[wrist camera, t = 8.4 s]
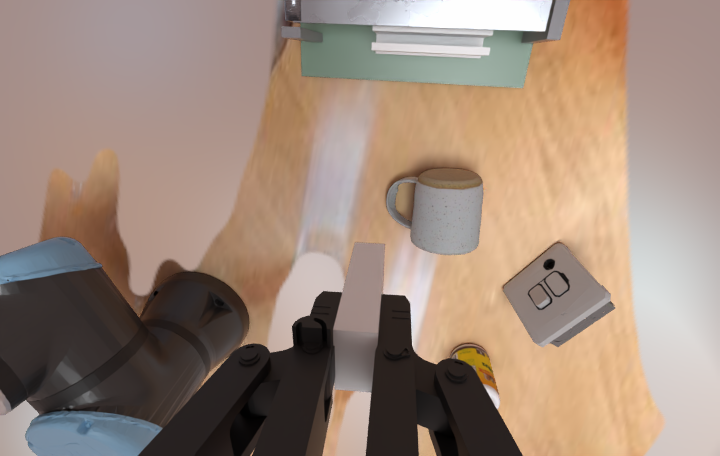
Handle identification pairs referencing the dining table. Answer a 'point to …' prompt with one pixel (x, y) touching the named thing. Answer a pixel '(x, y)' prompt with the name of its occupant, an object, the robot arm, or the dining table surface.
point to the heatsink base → (422, 52)
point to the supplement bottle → (479, 367)
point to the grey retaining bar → (424, 13)
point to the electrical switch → (557, 297)
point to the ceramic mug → (443, 210)
